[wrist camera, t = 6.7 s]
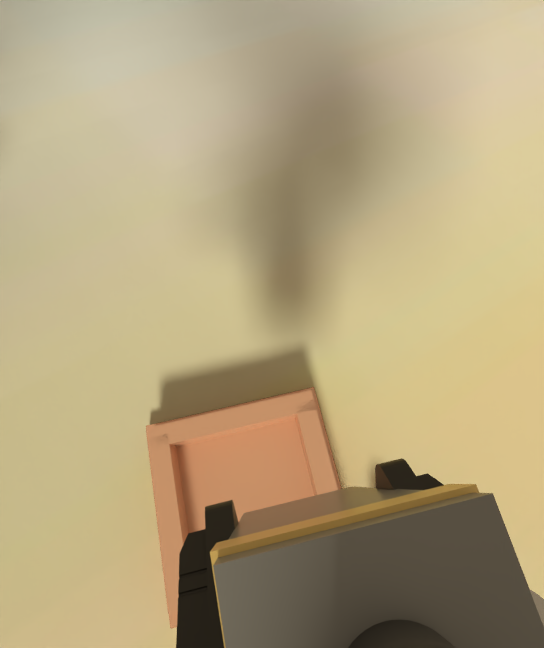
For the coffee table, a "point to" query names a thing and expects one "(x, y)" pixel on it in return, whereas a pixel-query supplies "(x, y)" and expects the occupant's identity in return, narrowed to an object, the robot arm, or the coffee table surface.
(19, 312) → the coffee table surface
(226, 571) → the plug
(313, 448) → the holder
